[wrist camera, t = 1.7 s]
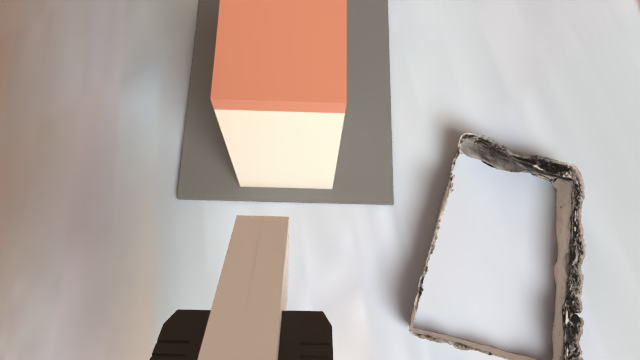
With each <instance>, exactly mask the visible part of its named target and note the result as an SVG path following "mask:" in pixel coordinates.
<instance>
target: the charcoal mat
mask: <svg viewBox="0 0 640 360" xmlns="http://www.w3.org/2000/svg"><path fill="white" fill-rule="evenodd" d="M219 5H220V0H199V6H198V15H197V24H196V33H195V42H194V51H193V60H192V69H191V78H190V86H189V95H188V104H187V113H186V122H185V131H184V140H183V149H182V158H181V167H180V176H179V185H178V194H177V199H185V200H224V201H262V202H300V203H338V204H376V205H393V204H394V199H393V165H392V130H391V96H390V62H389V27H388V0H347V104H346V110H345V116H344V122H343V128H342V134H341V140H340V146H339V152H338V158H337V164H336V170H335V176H334V182H333V188H332V189H313V188H275V187H240V184H239V181H238V178H237V176H236V173H235V170H234V167H233V164H232V161H231V158H230V155H229V152H228V149H227V146H226V143H225V140H224V137H223V134H222V132H221V129H220V126H219V123H218V120H217V117H216V114H215V111H214V108H213V105H212V102H211V99H210V98H211V88H212V78H213V67H214V57H215V46H216V36H217V26H218V15H219Z"/></svg>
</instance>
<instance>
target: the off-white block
mask: <svg viewBox="0 0 640 360" xmlns="http://www.w3.org/2000/svg"><path fill="white" fill-rule="evenodd" d="M210 99H211V102H212V105H213V108H214V111H215V114H216V117H217V120H218V123H219V126H220V129H221V132H222V134H223V137H224V140H225V143H226V146H227V149H228V152H229V155H230V158H231V161H232V164H233V167H234V170H235V173H236V176H237V178H238V181H239V184H240V187H275V188H313V189H332V188H333V182H334V176H335V170H336V164H337V158H338V152H339V146H340V140H341V134H342V128H343V122H344V116H345V110H346V104H347V0H220V5H219V15H218V26H217V36H216V46H215V57H214V67H213V78H212V88H211V98H210Z"/></svg>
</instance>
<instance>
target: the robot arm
mask: <svg viewBox="0 0 640 360" xmlns="http://www.w3.org/2000/svg"><path fill="white" fill-rule="evenodd" d="M288 249H289V217H275V216H237V217H236V221H235V224H234V228H233V232H232V235H231V239H230V243H229V246H228V250H227V254H226V257H225V261H224V265H223V268H222V272H221V276H220V279H219V283H218V286H217V290H216V294H215V297H214V301H213V305H212V308H211V310H177V311H176V312H175V313H174V314H173V315H172V316H171V317H170V318H169V319H168V320H167V321H166V322H165V323H164V324H163V327H162V329H161V332H160V334H159V337H158V340H157V343H156V345H155V348H154V350H153V353H152V357H151V358H150V360H333V346H332V326H331V324H330V322H329V321H328V319H327V318H326V316H325V314H324V313H323V311H287V301H288Z"/></svg>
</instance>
